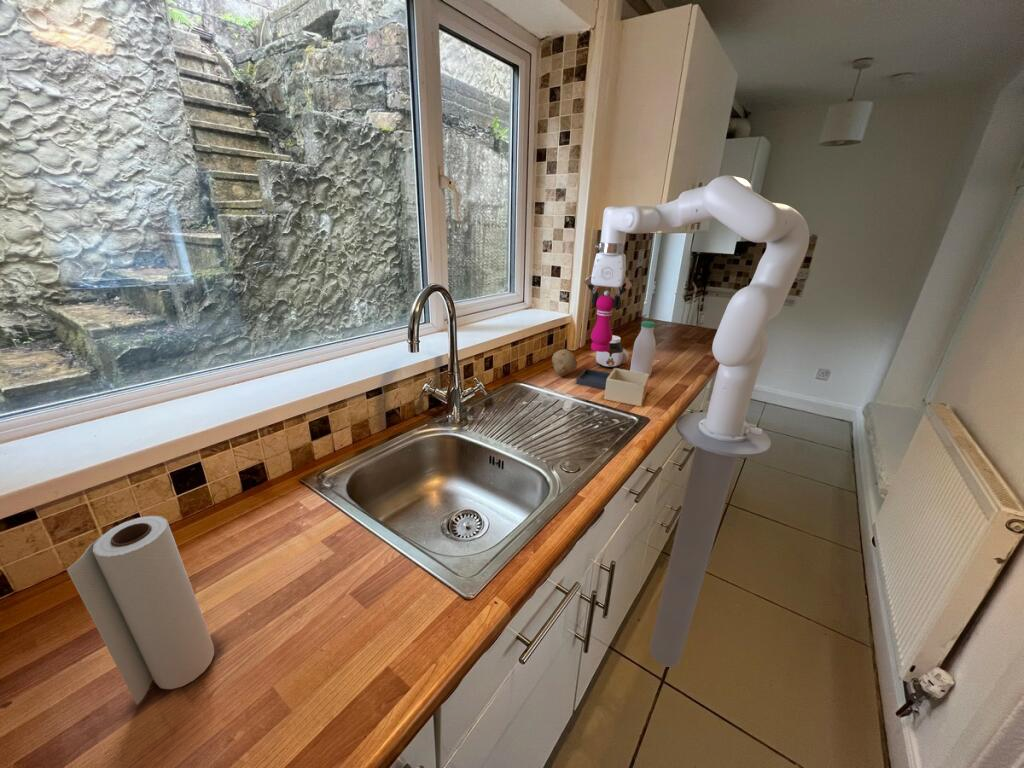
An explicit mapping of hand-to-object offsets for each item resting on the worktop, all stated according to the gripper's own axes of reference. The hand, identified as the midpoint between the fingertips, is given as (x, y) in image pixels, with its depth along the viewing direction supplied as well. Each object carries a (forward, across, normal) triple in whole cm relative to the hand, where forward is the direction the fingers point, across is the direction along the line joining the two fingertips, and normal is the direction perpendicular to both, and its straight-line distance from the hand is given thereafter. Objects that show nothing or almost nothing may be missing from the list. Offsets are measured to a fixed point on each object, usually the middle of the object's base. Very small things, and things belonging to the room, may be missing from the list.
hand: (605, 306), depth 134 cm
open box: (+27, +12, -8) cm, 30 cm away
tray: (+27, 0, 0) cm, 27 cm away
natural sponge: (+27, -12, 0) cm, 30 cm away
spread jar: (+27, +1, +21) cm, 34 cm away
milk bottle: (+27, +13, +16) cm, 34 cm away
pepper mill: (+15, 0, 0) cm, 15 cm away
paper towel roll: (+27, -22, -121) cm, 126 cm away
